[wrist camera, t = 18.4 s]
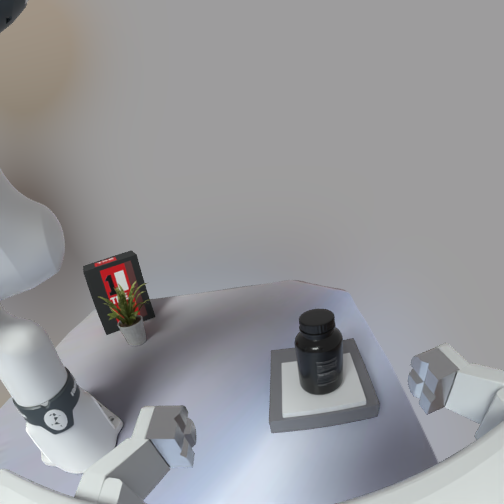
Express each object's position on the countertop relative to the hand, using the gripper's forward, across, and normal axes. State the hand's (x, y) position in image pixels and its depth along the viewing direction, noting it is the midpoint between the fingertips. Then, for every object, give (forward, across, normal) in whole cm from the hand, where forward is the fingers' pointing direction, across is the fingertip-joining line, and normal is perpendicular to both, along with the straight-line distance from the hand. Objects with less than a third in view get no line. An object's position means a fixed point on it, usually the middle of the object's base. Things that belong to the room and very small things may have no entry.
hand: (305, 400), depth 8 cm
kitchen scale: (+28, -6, +28) cm, 40 cm away
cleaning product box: (+67, +43, +28) cm, 84 cm away
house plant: (+54, +33, +28) cm, 69 cm away
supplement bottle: (+26, -6, +24) cm, 36 cm away
